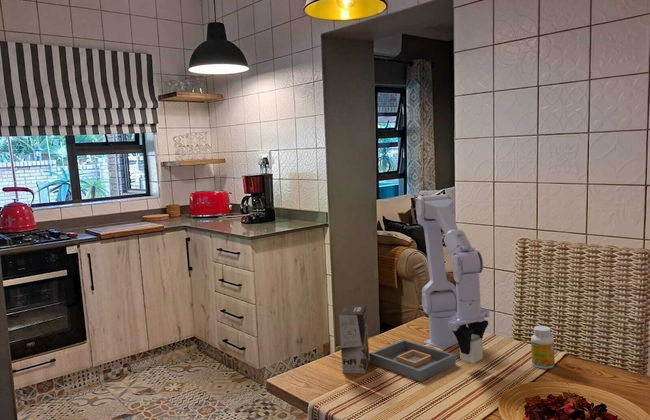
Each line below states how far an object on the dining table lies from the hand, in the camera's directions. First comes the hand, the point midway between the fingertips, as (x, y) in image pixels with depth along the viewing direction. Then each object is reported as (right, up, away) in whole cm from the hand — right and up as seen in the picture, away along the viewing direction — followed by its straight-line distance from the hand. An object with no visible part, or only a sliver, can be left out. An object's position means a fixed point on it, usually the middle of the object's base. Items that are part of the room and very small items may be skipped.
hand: (470, 350), depth 130 cm
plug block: (0, -2, 0) cm, 2 cm away
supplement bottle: (+19, -4, +1) cm, 19 cm away
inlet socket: (-13, -5, +9) cm, 17 cm away
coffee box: (-29, -7, +8) cm, 31 cm away
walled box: (-14, -6, +7) cm, 17 cm away
